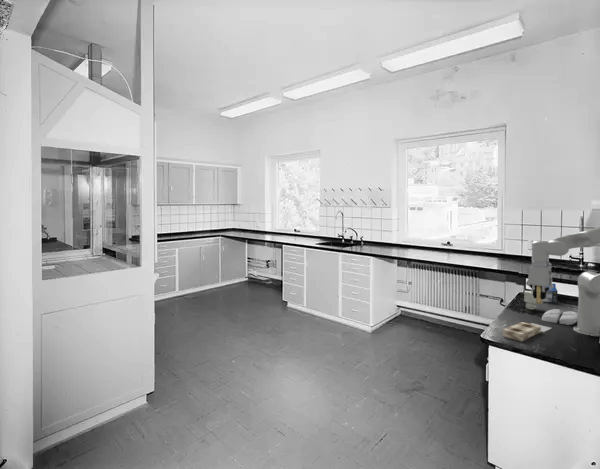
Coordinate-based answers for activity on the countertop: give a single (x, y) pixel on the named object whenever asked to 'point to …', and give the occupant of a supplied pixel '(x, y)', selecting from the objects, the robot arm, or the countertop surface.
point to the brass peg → (538, 294)
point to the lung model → (566, 317)
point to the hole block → (521, 331)
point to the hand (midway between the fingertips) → (539, 298)
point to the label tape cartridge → (551, 295)
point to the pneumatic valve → (528, 299)
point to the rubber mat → (543, 327)
